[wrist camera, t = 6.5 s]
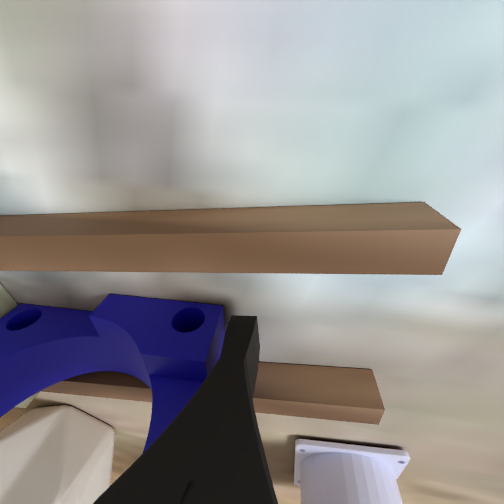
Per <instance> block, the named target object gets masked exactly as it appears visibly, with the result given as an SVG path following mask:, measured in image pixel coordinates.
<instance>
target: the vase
mask: <svg viewBox="0 0 504 504" xmlns="http://www.w3.org/2000/svg"><path fill="white" fill-rule="evenodd" d="M114 442H115V431H114V429H113V428H112V427H111V426H109V425H107V424H106V423H104V422H102V421H100V420H98V419H96V418H94V417H92V416H90V415H88V414H86V413H84V412H82V411H80V410H78V409H76V408H74V407H72V406H68V405H60V406H48V407H39V408H34V409H32V410H30V411H28V412H27V413H25V414H24V415H22V416H21V417H19V418H18V419H16V420H15V421H14V422H12V423H11V424H9V425H8V426H6V427H5V428H3V429H2V430H1V431H0V504H93V503H94V502H95V500H96V499H97V498H98V497H99V496H100V495H101V494H102V493H103V492H105V491H106V490H107V489H108V488H109V487H110V483H111V473H112V463H113V452H114Z"/></svg>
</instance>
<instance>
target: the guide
mask: <svg viewBox="0 0 504 504" xmlns="http://www.w3.org/2000/svg"><path fill="white" fill-rule="evenodd" d="M460 231H461V229H460V228H459V227H458V226H456V225H455V224H453V223H452V222H451V221H449V220H448V219H447V218H445V217H444V216H443V215H441V214H440V213H439V212H437V211H436V210H434V209H433V208H432V207H430V206H429V205H428V204H426V203H425V202H409V203H378V204H347V205H316V206H285V207H254V208H223V209H192V210H160V211H129V212H98V213H67V214H36V215H5V216H0V270H1V271H104V272H207V273H310V274H414V275H442V273H443V271H444V269H445V266H446V264H447V261H448V259H449V257H450V254H451V252H452V250H453V247H454V245H455V243H456V240H457V238H458V235H459V233H460ZM17 306H18V304H17V303H16V302H15V301H14V299H13V298H12V297H11V296H10V295H9V293H8V292H7V291H6V290H5V288H4V287H3V286H2V285H1V284H0V319H1V318H2V317H4V316H5V315H6V314H7V313H9V312H10V311H11V310H13V309H14V308H15V307H17ZM41 391H44V392H54V393H64V394H74V395H84V396H94V397H105V398H115V399H125V400H135V401H145V402H152V390H151V389H150V387H149V386H148V385H146V384H145V383H144V382H143V381H141V380H140V379H138V378H136V377H134V376H132V375H129V374H126V373H122V372H116V371H98V372H91V373H85V374H81V375H77V376H74V377H71V378H68V379H65V380H63V381H60V382H58V383H55V384H53V385H51V386H49V387H47V388H45V389H43V390H41ZM39 392H40V391H39ZM39 392H38V393H39ZM38 393H36V394H34V395H32V396H31V397H29V398H27V399H26V400H24V401H23V402H21V403H19V404H18V405H17V406H15V407H19V408H26V407H27V406H28V405H29V404H30V403H31V401H32V400H33V399H34V398H35V397H36V395H37V394H38ZM253 405H254V410H255V412H257V413H267V414H277V415H287V416H297V417H307V418H317V419H328V420H338V421H348V422H358V423H368V424H378V425H379V422H380V420H381V417H382V415H383V413H384V410H385V409H384V406H383V403H382V399H381V396H380V393H379V390H378V387H377V384H376V380H375V377H374V374H373V371H372V370H370V369H355V368H340V367H325V366H310V365H295V364H280V363H265V362H259V363H258V372H257V378H256V384H255V389H254V395H253Z"/></svg>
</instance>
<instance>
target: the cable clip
mask: <svg viewBox="0 0 504 504" xmlns="http://www.w3.org/2000/svg"><path fill="white" fill-rule="evenodd" d="M224 336H225V322H224V309H223V306H221V305H212V304H202V303H192V302H183V301H173V300H163V299H153V298H144V297H134V296H124V295H115V294H109V295H108V296H107V297H106V298H105V299H104V300H103V301H102V302H101V303H100V305H99V306H98V307H97V308H96V309H95V310H94V311H93V312H92V311H83V310H74V309H65V308H57V307H48V306H39V305H30V304H19V305H18V306H17V307H15V308H14V309H13V310H11V311H10V312H9V313H7V314H6V315H5V316H4V317H2V318H1V319H0V417H1V416H3V415H4V414H5V413H7V412H8V411H9V410H11V409H12V408H14V407H15V406H17V405H18V404H19V403H21V402H23V401H24V400H26V399H27V398H29V397H31V396H32V395H34V394H36V393H38V392H39V391H41V390H43V389H45V388H47V387H49V386H51V385H53V384H55V383H58V382H60V381H63V380H65V379H68V378H71V377H74V376H77V375H81V374H85V373H91V372H98V371H116V372H122V373H126V374H129V375H132V376H134V377H136V378H138V379H140V380H141V381H143V382H144V383H145V384H146V385H148V386H149V387H150V389H151V390H152V416H151V423H150V428H149V433H148V437H147V441H146V444H145V448H144V451H143V453H144V452H145V451H146V450H147V449H148V448H149V447H150V445H151V444H152V443H153V442H154V441H155V440H156V439H157V438H158V437H159V436H160V435H161V434H162V433H163V432H164V430H165V429H166V428H167V427H168V426H169V425H170V424H171V422H172V421H173V420H174V419H175V418H176V416H177V415H178V414H179V413H180V412H181V410H182V409H183V408H184V407H185V406H186V404H187V403H188V402H189V400H190V399H191V398H192V397H193V395H194V394H195V393H196V391H197V390H198V389H199V387H200V386H201V385H202V383H203V382H204V380H205V379H206V377H207V376H208V374H209V373H210V371H211V370H212V368H213V367H214V365H215V364H216V362H217V361H218V359H219V358H220V355H221V350H222V345H223V341H224Z"/></svg>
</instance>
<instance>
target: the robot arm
mask: <svg viewBox="0 0 504 504" xmlns="http://www.w3.org/2000/svg"><path fill="white" fill-rule="evenodd" d="M259 350H260V343H259V333H258V323H257V316H235V315H232V316H231V319H230V321H229V323H228V326H227V328H226V332H225V336H224V341H223V345H222V350H221V355H220V358H219V359H218V361H217V362H216V364H215V365H214V367H213V368H212V370H211V371H210V373H209V374H208V376H207V377H206V379H205V380H204V382H203V383H202V385H201V386H200V387H199V389H198V390H197V391H196V393H195V394H194V395H193V397H192V398H191V399H190V400H189V402H188V403H187V404H186V406H185V407H184V408H183V409H182V410H181V412H180V413H179V414H178V415H177V416H176V418H175V419H174V420H173V421H172V422H171V424H170V425H169V426H168V427H167V428H166V429H165V430H164V432H163V433H162V434H161V435H160V436H159V437H158V438H157V439H156V440H155V441H154V442H153V443H152V444H151V445H150V447H149V448H148V449H147V450H146V451H145V452H144V453H143V454H142V455H141V456H140V457H139V458H138V459H137V460H136V461H135V462H134V463H133V464H132V465H131V466H130V467H129V468H128V469H127V470H126V471H125V472H124V473H123V474H122V475H121V476H120V477H119V478H118V479H117V480H116V481H115V482H114V483H113V484H112V485H111V486H110V487H109V488H108V489H107V490H106V491H105V492H103V493H102V494H101V495H100V496H99V497H98V498H97V499H96V500H95V502H94V503H93V504H278V502H277V498H276V495H275V491H274V488H273V484H272V480H271V477H270V473H269V469H268V465H267V461H266V457H265V453H264V449H263V445H262V441H261V437H260V433H259V428H258V424H257V419H256V415H255V410H254V405H253V395H254V389H255V384H256V378H257V372H258V363H259ZM409 461H410V457H409V454H408V452H406V451H404V450H396V449H387V448H378V447H369V446H360V445H352V444H343V443H334V442H325V441H316V440H307V439H297V440H296V441H295V464H294V484H295V485H296V486H298V487H300V490H301V504H403V503H402V499H401V496H400V492H399V489H398V485H397V482H396V480H397V478H398V477H399V475H400V474H401V472H402V471H403V469H404V468H405V466H406V465H407V464H408V462H409Z"/></svg>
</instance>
